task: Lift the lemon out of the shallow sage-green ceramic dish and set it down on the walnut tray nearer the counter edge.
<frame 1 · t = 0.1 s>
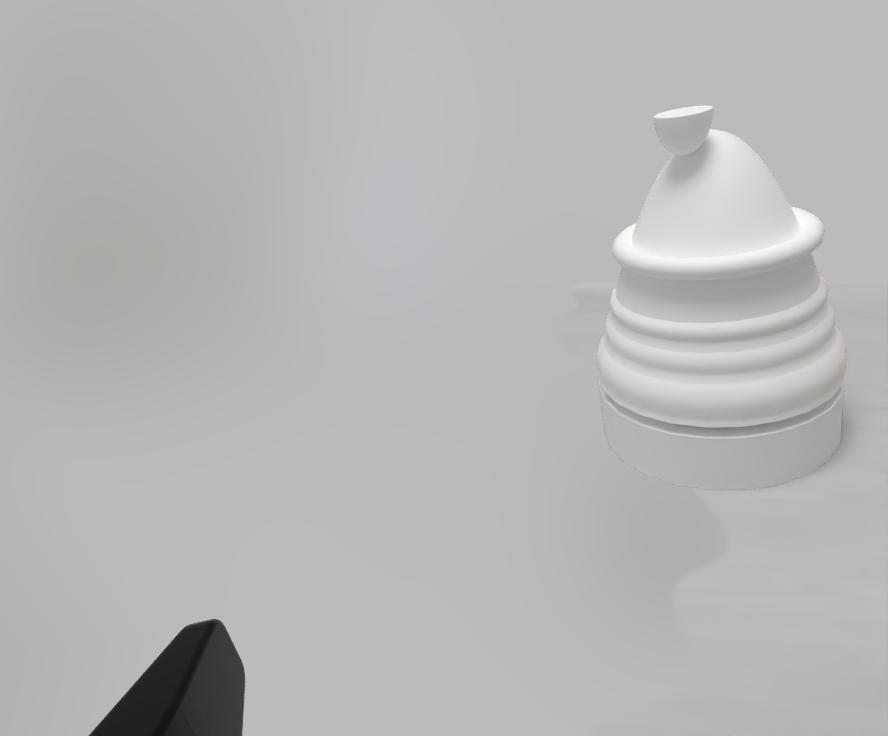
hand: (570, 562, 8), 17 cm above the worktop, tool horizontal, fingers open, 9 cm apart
honey pot: (714, 425, 39), on the worktop
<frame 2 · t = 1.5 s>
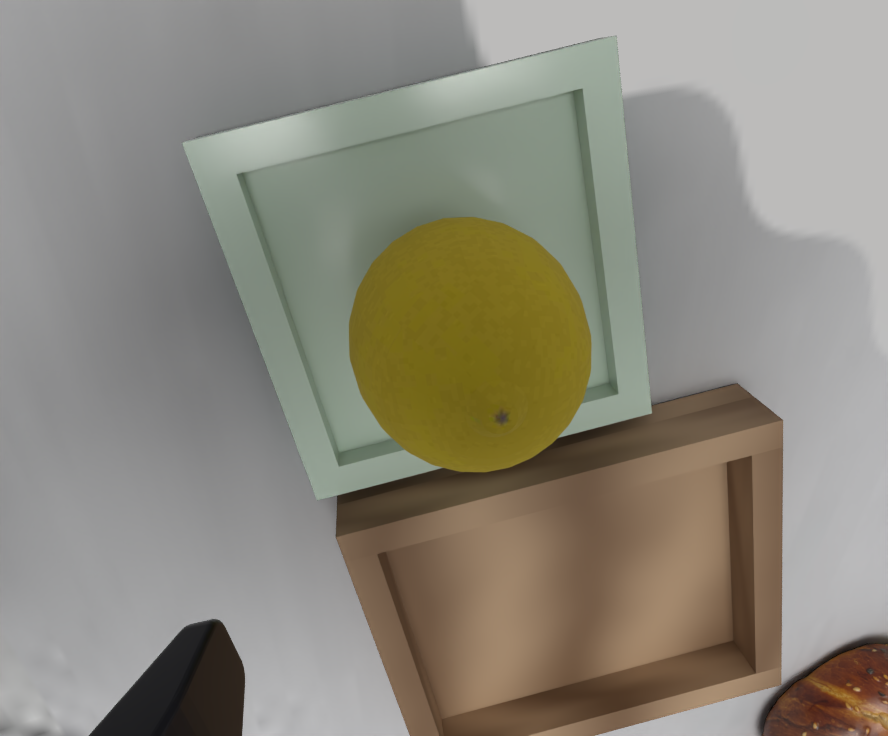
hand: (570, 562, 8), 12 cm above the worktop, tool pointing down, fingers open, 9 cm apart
dish: (443, 283, 19), on the worktop
tray: (563, 567, 25), on the worktop
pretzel: (863, 706, 31), on the worktop
lemon: (444, 286, 19), resting on dish
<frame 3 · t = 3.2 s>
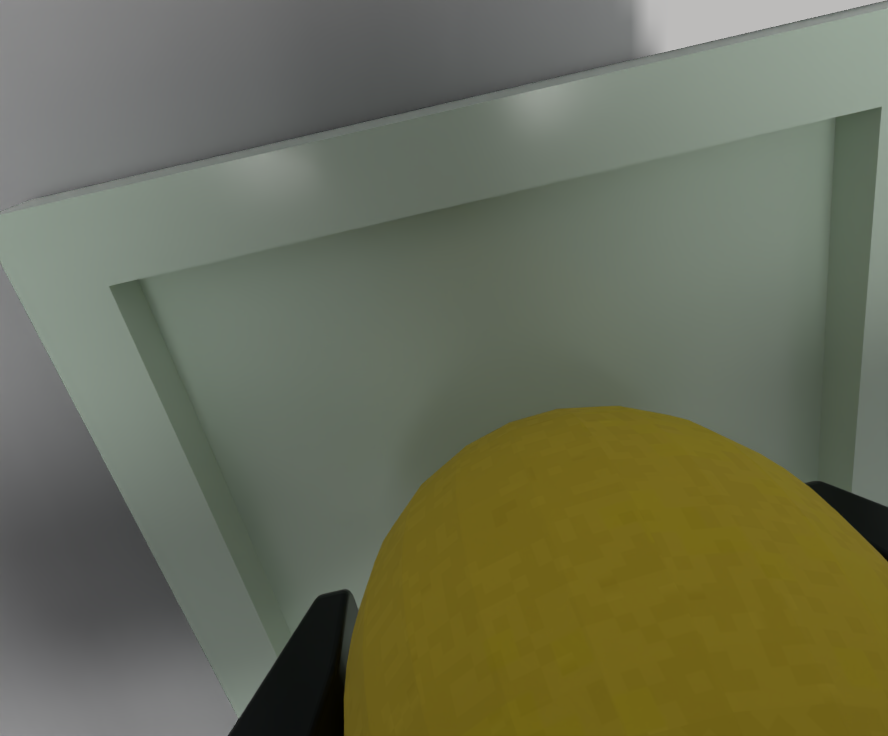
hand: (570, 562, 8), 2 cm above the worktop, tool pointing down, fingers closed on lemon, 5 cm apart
dish: (530, 463, 10), on the worktop
lemon: (533, 470, 10), resting on dish, touching gripper
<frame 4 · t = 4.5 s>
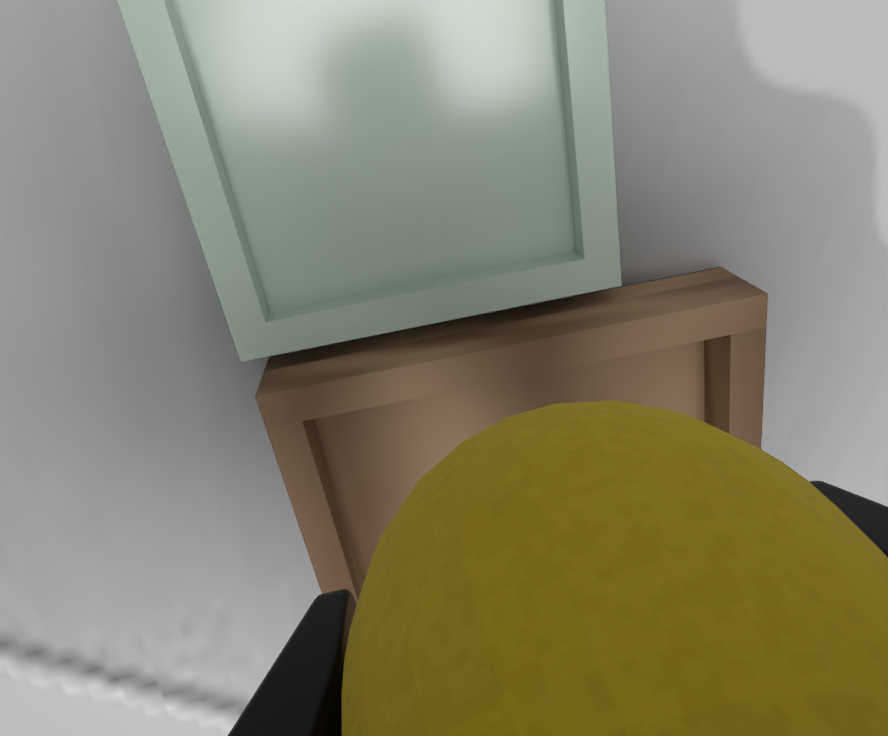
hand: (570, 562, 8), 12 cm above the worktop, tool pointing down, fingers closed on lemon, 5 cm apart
dish: (390, 116, 17), on the worktop
tray: (520, 473, 22), on the worktop
lemon: (531, 466, 10), point 10 cm above the worktop, touching gripper
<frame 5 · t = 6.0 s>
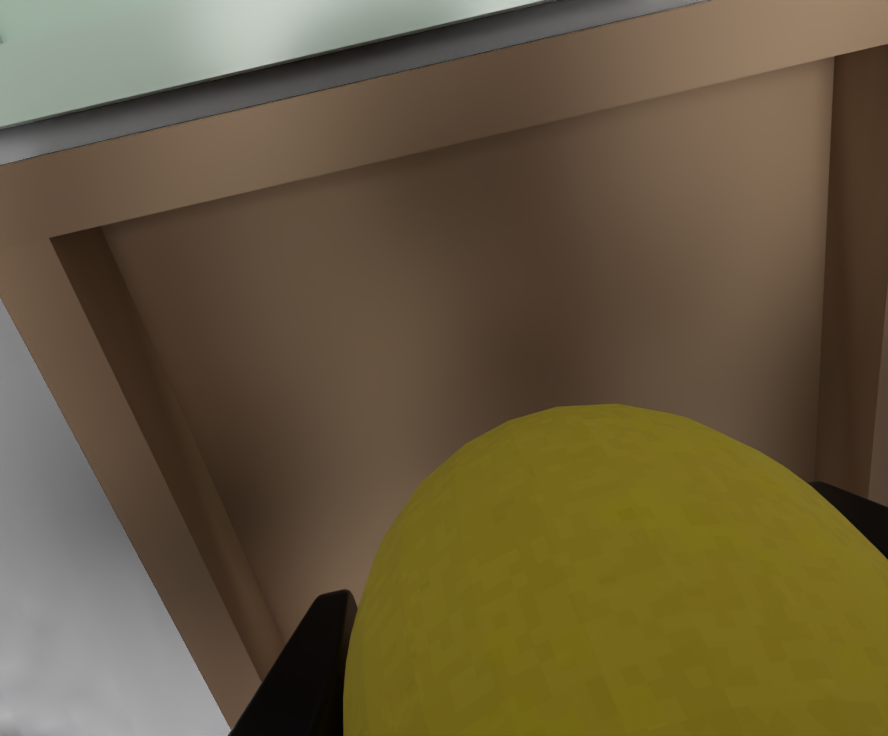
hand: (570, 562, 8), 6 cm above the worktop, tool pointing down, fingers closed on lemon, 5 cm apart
tray: (504, 378, 13), on the worktop
lemon: (532, 469, 10), point 3 cm above the worktop, touching gripper
when the fingers open (4 cm above the worktop, at t = 6.7 s): lemon drops 1 cm, resting on tray.
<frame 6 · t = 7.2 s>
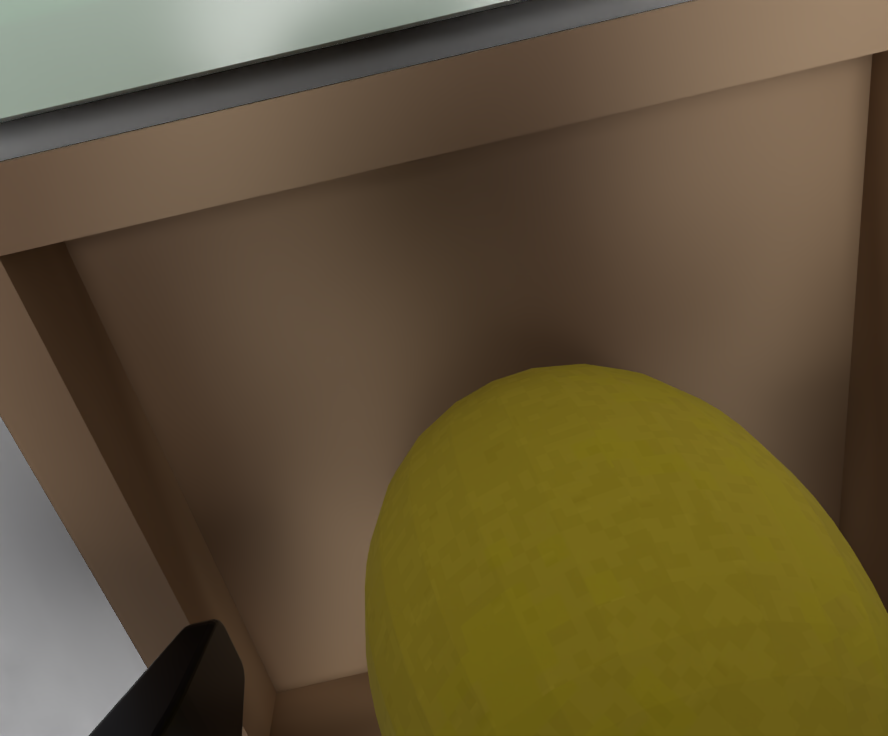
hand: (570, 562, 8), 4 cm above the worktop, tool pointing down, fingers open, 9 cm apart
tray: (508, 400, 12), on the worktop
lemon: (510, 424, 11), point 1 cm above the worktop, touching tray
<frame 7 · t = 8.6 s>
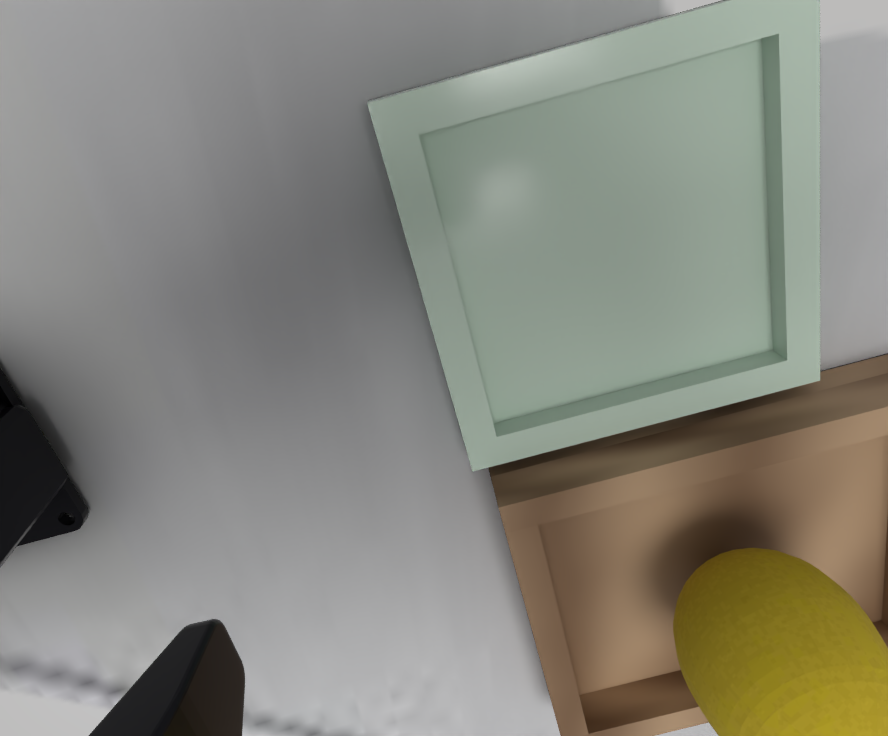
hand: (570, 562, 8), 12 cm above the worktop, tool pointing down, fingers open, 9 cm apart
dish: (607, 247, 19), on the worktop
tray: (706, 543, 24), on the worktop
lemon: (713, 558, 23), point 1 cm above the worktop, touching tray
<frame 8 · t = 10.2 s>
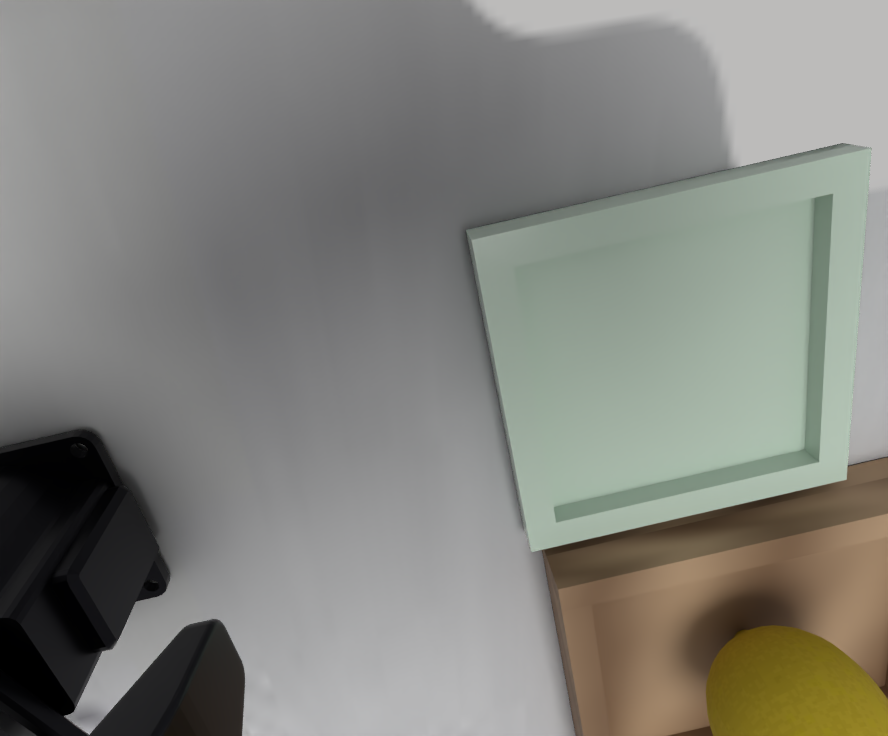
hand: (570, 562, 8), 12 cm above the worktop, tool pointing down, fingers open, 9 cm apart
dish: (665, 358, 21), on the worktop
tray: (731, 613, 26), on the worktop
lemon: (738, 629, 25), point 1 cm above the worktop, touching tray
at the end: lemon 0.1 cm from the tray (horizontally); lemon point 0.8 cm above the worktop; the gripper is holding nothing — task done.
